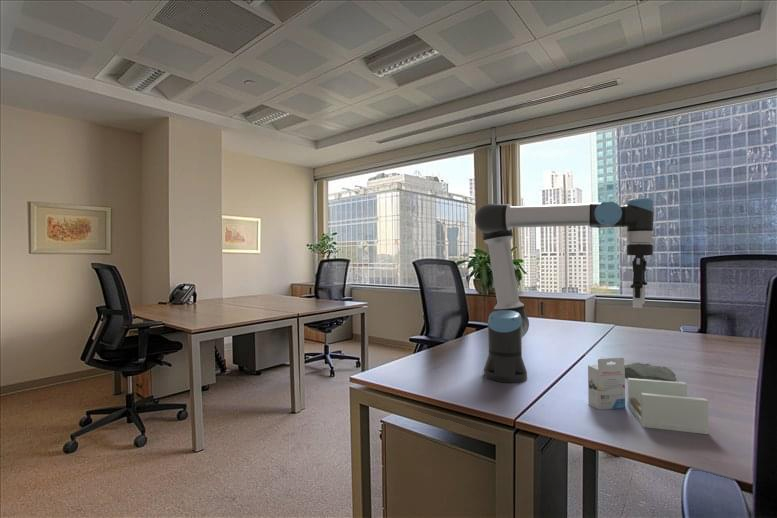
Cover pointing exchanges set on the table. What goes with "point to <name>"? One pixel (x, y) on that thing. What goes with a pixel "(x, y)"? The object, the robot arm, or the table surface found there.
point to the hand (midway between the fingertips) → (638, 305)
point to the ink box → (607, 384)
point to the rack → (667, 406)
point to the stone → (649, 372)
